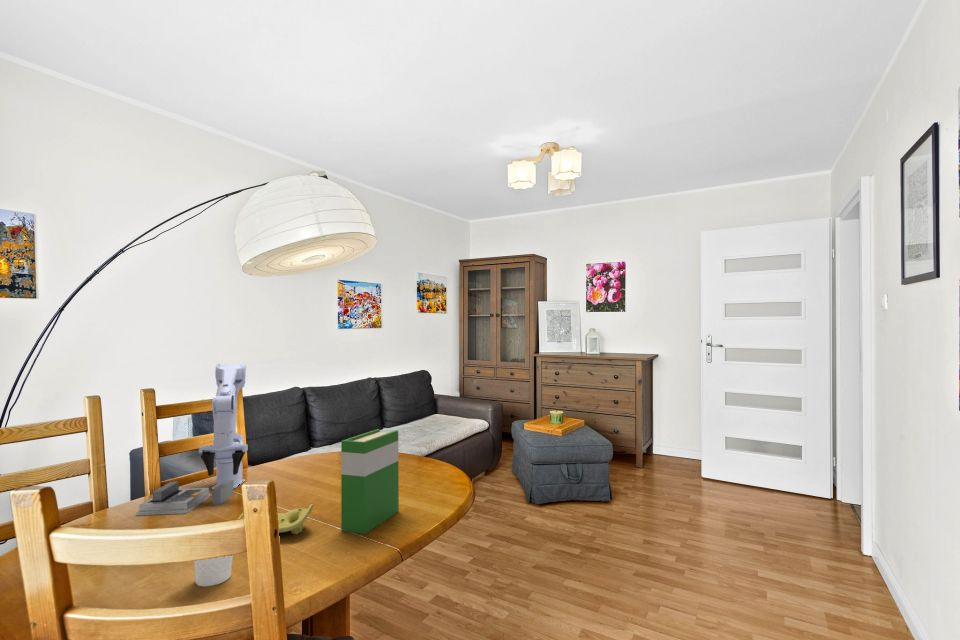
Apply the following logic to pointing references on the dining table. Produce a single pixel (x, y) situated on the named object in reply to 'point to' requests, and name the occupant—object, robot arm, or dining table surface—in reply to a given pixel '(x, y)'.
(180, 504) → the rack
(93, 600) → the dining table surface
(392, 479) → the hardback book
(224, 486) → the panel
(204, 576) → the white cup
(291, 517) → the plastic component
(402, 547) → the dining table surface
